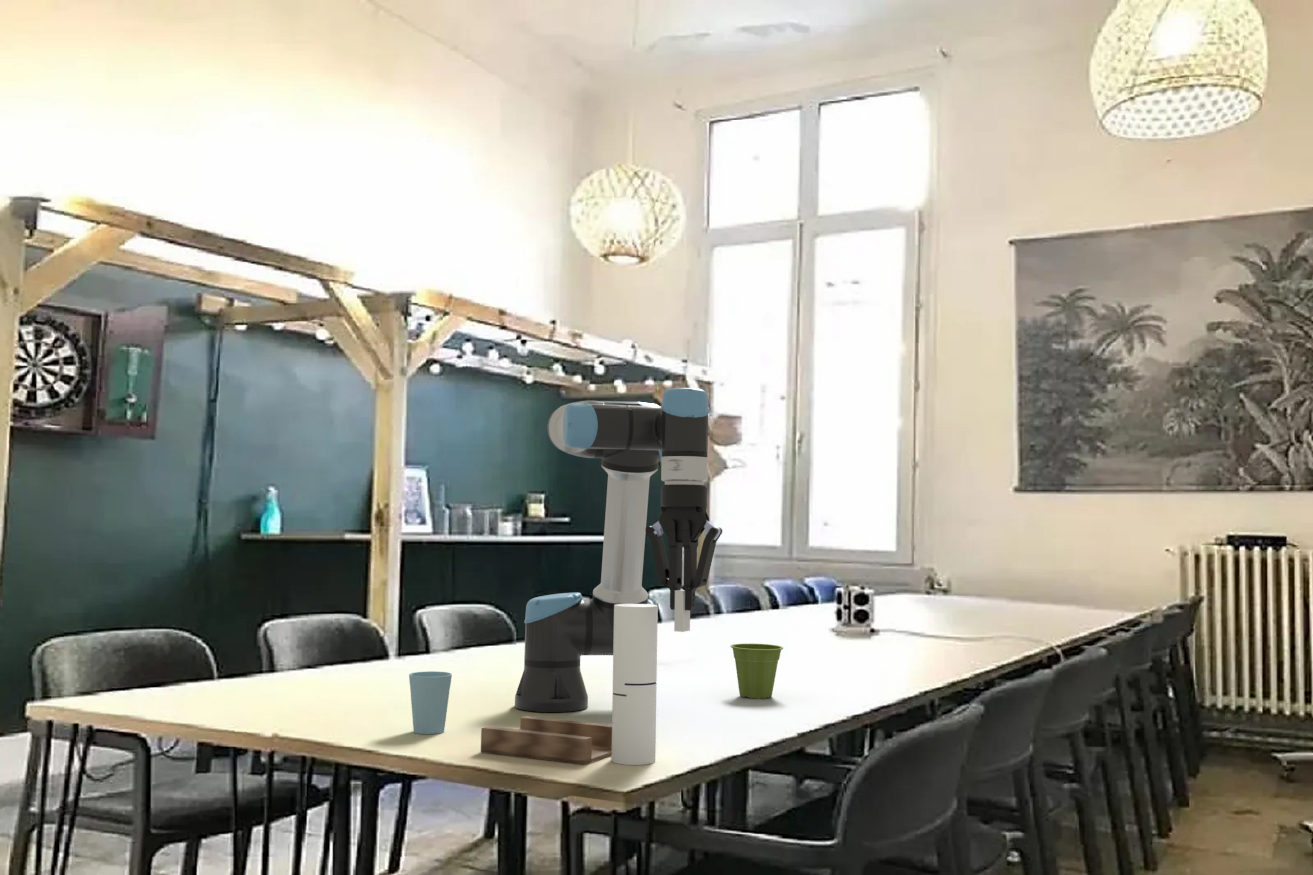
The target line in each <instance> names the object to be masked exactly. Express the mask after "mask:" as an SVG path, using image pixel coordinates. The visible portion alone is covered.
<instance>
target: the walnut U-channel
mask: <svg viewBox="0 0 1313 875" xmlns="http://www.w3.org/2000/svg"><path fill="white" fill-rule="evenodd" d="M519 727H520V729H518V728H511V727H510V728H508V727H499V726H492V725H491V726H490V725H488V726H483V727H480V728H481V729H480V732H481V733H480V753H483V754H486V753H487V754H493V755H501V756H502V755H503V756H509V757H516V758H517V757H519V758H528V759H535V760H543V761H549V762H558V763H559V762H560V763H568V764H577V765H582V766H583V765H584V766H586V765H589V764H591V763H594V762H597V761H599V760H603V759H605V758H608V757H611V756H612V724H609V723H608V724H607V723H600V722H599V723H598V722H588V721H580V720H579V721H578V720H571V719H569V720H567V719H558V718H551V717H550V718H549V717H539V716H530V715H525V716H522V717H520V726H519Z"/></svg>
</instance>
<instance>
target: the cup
mask: <svg viewBox="0 0 1313 875" xmlns="http://www.w3.org/2000/svg"><path fill="white" fill-rule="evenodd" d="M408 677H409V678H408V679H409V688H410V689H409V690H410V700H411V701H410V703H411V713H412V714H411V715H412V727H413V728H412V730H413V733H414V732H415V734H419V735H436V734H437V735H439V734H441V733H444V732H445V727H446V721H447V720H446V719H447V714H448V713H447V712H448V705H449V696H450V688H451V684H452V677H453V675H452V673H451V672H447V671H433V670H432V671H430V670H429V671H417V672H411V673H409V674H408Z"/></svg>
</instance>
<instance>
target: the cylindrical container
mask: <svg viewBox="0 0 1313 875" xmlns="http://www.w3.org/2000/svg"><path fill="white" fill-rule="evenodd" d="M658 607H659V606H658V605H657V604H654V605H651V604H616V605H614V643H613V655H612V707H611V708H612V709H611V710H612V711H611V714H612V715H611V716H612V718H611V725H612V755H611V756H610V757H611V759H610V760H611V762H612V763H614V764H619V765H626V766H627V765H628V766H642V765H643V766H644V765H649V764H653V763H655V762H656V754H657V753H656V748H657V747H656V744H657V741H656V740H657V735H656V734H657V684H658V683H657V680H658V679H657V678H658V672H657V671H658V670H657V669H658V619H659V617H658V612H659V610H658Z"/></svg>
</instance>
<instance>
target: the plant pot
mask: <svg viewBox="0 0 1313 875" xmlns="http://www.w3.org/2000/svg"><path fill="white" fill-rule="evenodd" d="M730 648H731V649H732V652H733V658H734V661H735V670H736V677H737V684H738V685H737V686H738V691H739V693H738V694H739V696H740V697H742V698H746V697H748V698H749V699H752V700H753V699H754V700H755V699H760V700H763V699H767V698H772V696H773V691H774V686H775V679H776V674H777V668H778V663H779V660H780V657H781V652H782V650H784V646H782V645H776V644H768V643H735V644H730Z"/></svg>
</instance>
